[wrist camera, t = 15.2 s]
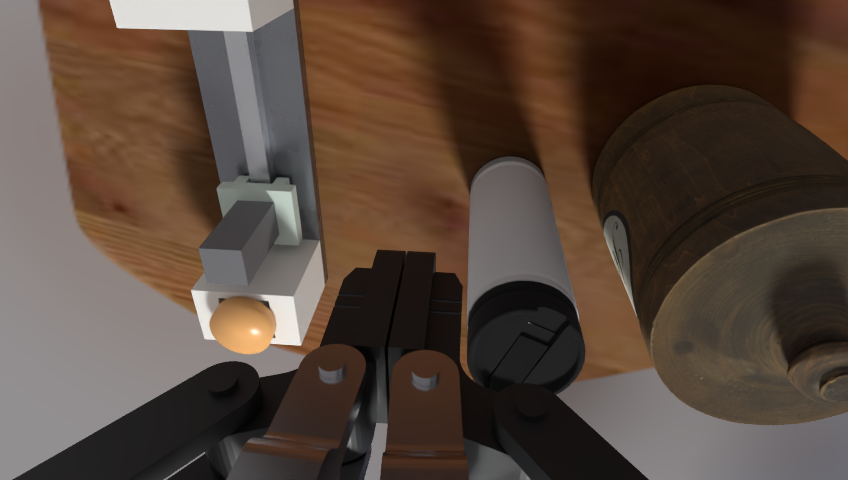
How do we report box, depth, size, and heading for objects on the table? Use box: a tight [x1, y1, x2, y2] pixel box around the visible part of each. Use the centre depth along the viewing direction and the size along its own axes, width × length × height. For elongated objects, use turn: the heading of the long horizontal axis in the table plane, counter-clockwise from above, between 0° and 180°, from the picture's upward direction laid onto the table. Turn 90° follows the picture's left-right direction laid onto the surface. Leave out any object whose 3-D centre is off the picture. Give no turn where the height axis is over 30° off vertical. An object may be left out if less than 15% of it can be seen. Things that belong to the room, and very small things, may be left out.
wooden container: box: [592, 85, 848, 425], centre depth 33 cm, size 15×15×22 cm
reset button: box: [209, 296, 277, 354], centre depth 44 cm, size 5×5×7 cm
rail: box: [187, 0, 328, 284], centre depth 43 cm, size 28×8×2 cm, turn 179°
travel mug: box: [467, 156, 585, 395], centre depth 36 cm, size 6×7×20 cm
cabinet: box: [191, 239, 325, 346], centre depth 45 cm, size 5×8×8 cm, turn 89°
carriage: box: [198, 176, 303, 286], centre depth 41 cm, size 5×6×9 cm
